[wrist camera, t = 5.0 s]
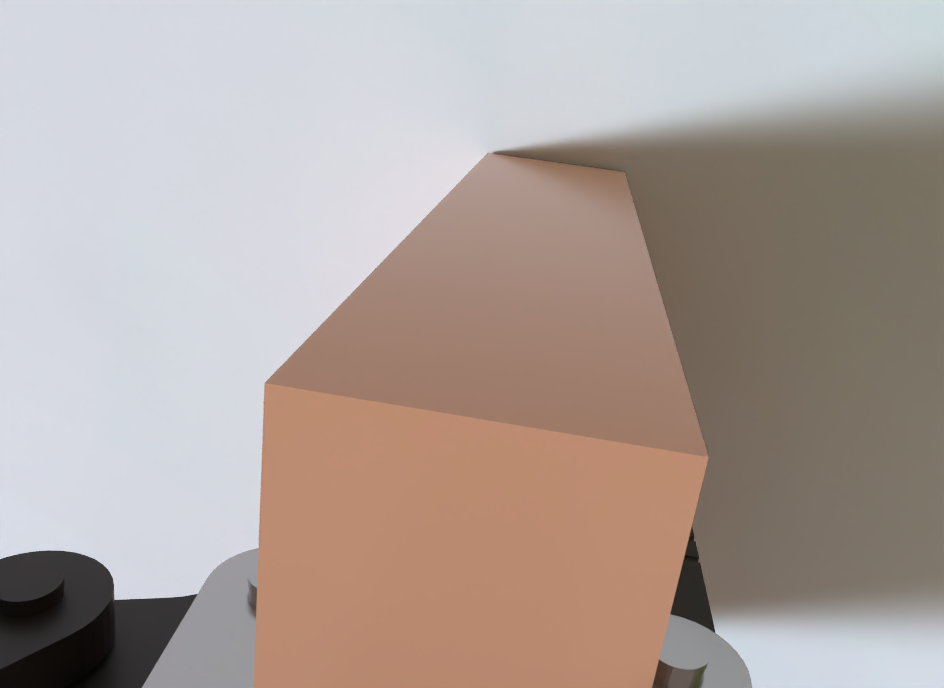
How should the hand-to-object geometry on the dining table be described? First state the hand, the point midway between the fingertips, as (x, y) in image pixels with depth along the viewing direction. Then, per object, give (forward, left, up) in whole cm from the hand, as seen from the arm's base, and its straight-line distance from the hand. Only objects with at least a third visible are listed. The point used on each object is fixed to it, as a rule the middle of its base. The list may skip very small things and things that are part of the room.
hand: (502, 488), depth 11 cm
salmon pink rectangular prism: (0, 0, -2) cm, 2 cm away
